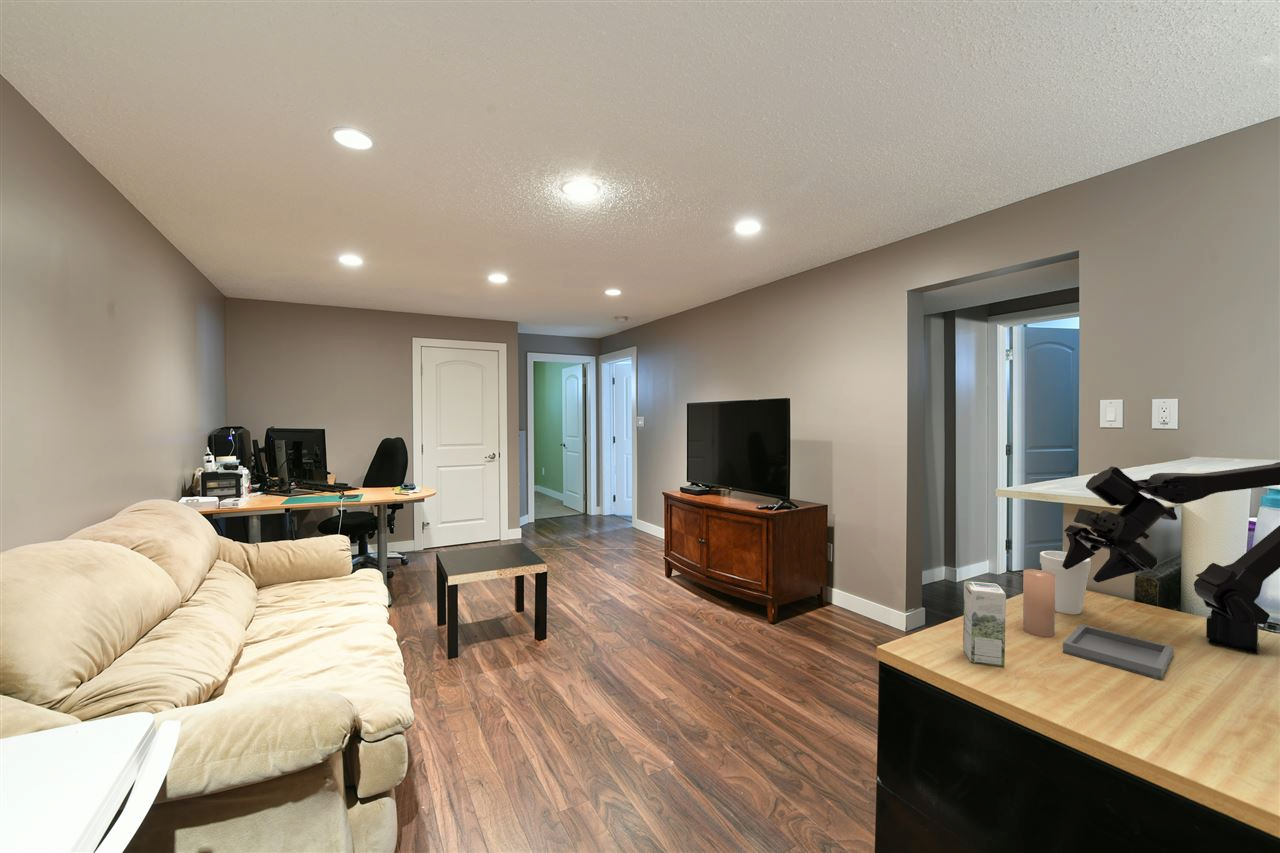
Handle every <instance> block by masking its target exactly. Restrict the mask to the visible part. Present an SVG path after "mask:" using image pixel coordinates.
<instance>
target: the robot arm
mask: <svg viewBox="0 0 1280 853" xmlns="http://www.w3.org/2000/svg"><path fill="white" fill-rule="evenodd" d="M1272 486H1273V487H1274V486H1280V461H1277V462H1274V463H1271V464H1263V465H1256V466H1248V467H1239V468H1234V469H1226V470H1219V471H1212V472H1204V473H1201V472H1200V473H1198V472H1197V473H1194V472H1193V473H1192V472H1191V473H1190V472H1157V473H1154V474H1152V475H1150V476H1149V478H1145V479H1137V480H1134V479H1132V478H1131V477H1130V476H1128V475H1127V474H1125V472H1123V471H1122V470H1121V469H1119V468H1118V467H1117V466H1110V467H1108V468H1107V469H1105V470H1102V471H1101V472H1099V473H1097V474H1094V475H1093V476H1092V477H1090V478H1089V479H1088V481H1087V482H1086V484H1085V488H1086V489H1087V490H1089V491H1090V492H1092V494H1094V495H1095V496H1096V497H1097V498H1099V499H1101V500H1102V501H1104V502H1105V503H1107V504H1108V505H1110V506H1111V507H1115V506H1118V507H1121V508H1120V509H1119V510H1118V511H1117V512H1116V513H1114V512H1110V511H1107V510H1102V511H1101V512H1100V513H1099V512H1097V511H1092V510H1089V509H1084V508H1080V507H1079V508H1078V510H1077V512H1076V515H1075V517H1074V519H1073V522H1074V523H1075V524H1069V525H1068V526H1067V527H1066V528H1064V530H1063V532H1064V534H1065V536H1066V538H1067V539H1068V542H1069V546H1068V550H1067V551H1066V552H1067V555H1066V557H1065V560H1064V562H1063V565H1062V567H1063V568H1065V569H1066V570H1067V569H1069V568H1072V567H1074V566H1075V565H1077V564H1079V563H1081V562H1083V561H1084V560H1086V559H1088V558H1089V559H1091V558H1092V557H1093V556H1095V555H1096V553H1095V552H1098V551H1100V549H1102V548H1103V549H1105V550H1108V551H1109V557H1108V559H1107V560H1106V561H1105V562H1104V564H1103V565H1102V566H1101V567H1100V568H1099V570H1098V571H1097V572H1096V573H1095V575H1094V576H1093V578H1092V580H1093V581H1094V582H1096V583H1102V582H1104V581H1105V582H1106V581H1109V580H1111V579H1116V578H1118V577H1121V576H1125V575H1129V574H1130V575H1131V574H1133V573H1137V572H1141V573H1143V572H1145V570H1147V571H1150V572H1152V571H1153V570H1154V569H1155V568H1156V567H1157V566H1158V565H1159V558H1158V557H1157V556H1155V554H1154V553H1152V552H1151V551H1150V550H1149V549H1148V548H1146V547H1145V546H1144V545H1143V544H1142V543H1140V542H1138V541H1139V540H1140V539H1142V540H1146V541H1147V539H1149V538H1150V535H1149V534H1147V532H1148V531H1149V530H1150V529H1151V528H1152V527H1153V526H1154V525H1155V524H1156V523H1157V522H1158V521H1159V520H1160V519H1162V520H1168V521H1177V520H1178V516H1177V513H1176V511H1175V507H1174V506H1166V505H1164V504H1163V503H1161V502H1160V501H1159V500H1161V501H1165V502H1168V503H1172V504H1176V505H1177V504H1179V505H1182V504H1187V503H1191V502H1194V501H1198V500H1202V499H1204V498H1206V497H1208V496H1210V495H1214V494H1217V493H1224V492H1225V493H1226V492H1233V491H1240V490H1241V491H1243V490H1249V489H1259V488H1265V487H1266V488H1267V487H1272ZM1144 494H1146V495H1150V496H1151V497H1147V496H1145V495H1144ZM1078 524H1082V525H1085V526H1087V527H1090V528H1089V529H1088V528H1087V527H1085V526H1082V525H1078ZM1279 569H1280V525H1278V526H1277V527H1275V529H1273V530H1272V531H1271V532H1269V533H1268V534H1267V535H1266V536H1265V537H1263V538H1262V539H1261V540H1260V541H1258V543H1256V544H1255V545H1254V546H1252V547H1251V548H1250V549H1249V550H1248V551H1246V552H1245V553H1244V554H1242V556H1240V557H1239V558H1238V559H1237V560H1235V561H1234V562H1232V563H1231V564H1230V563H1229V564H1227V565H1223V566H1222V565H1220V564H1218V563H1215V562H1212V563H1210V564H1209V565H1208V566H1207V567H1206V568H1205V569H1204V570H1203V571H1202V572H1200V573H1197V574H1195V577H1197V578H1196V580H1195V581H1194V582H1193V587H1194V592H1195V593H1196V596H1198V597H1199V598H1200V599H1201V600H1202V601H1203V604H1204V606H1205V607H1207V608H1209V609H1211V611H1210V615H1207V617H1206V627H1205V628H1206V630H1205V631H1206V632H1205V633H1206V635H1205V637H1206V638H1207V639H1208V644H1210V645H1212V646H1213V645H1214V646H1218V647H1222V648H1227V649H1230V650H1235V651H1240V652H1243V653H1247V654H1248V653H1249V654H1252V655H1259V649H1260V643H1259V625H1266V624H1267V622H1268V620H1269V618H1270V617H1271V615H1270V613H1268V612H1267V611H1266V610H1264V609H1263V608H1262V607H1261V606H1259V604H1257V603H1256V600H1257V599H1258V598H1259V597H1260V596H1261V591H1262V587H1263V584H1264V582H1265V580H1266V579H1268V578H1269V577H1270V576H1271V575H1273V574H1274V573H1275V572H1277V571H1278V570H1279Z"/></svg>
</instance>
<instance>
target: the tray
mask: <svg viewBox="0 0 1280 853" xmlns="http://www.w3.org/2000/svg"><path fill="white" fill-rule="evenodd" d="M1062 653H1063V654H1067V655H1071V656H1074V657H1076V658H1077V657H1078V658H1082V659H1085V660H1089V661H1092V662H1095V663H1098V664H1103V665H1106V666H1110V667H1114V668H1117V669H1120V670H1124V671H1128V672H1129V673H1130V672H1132V673H1133V674H1138V675H1142V676H1143V677H1144V676H1146V677H1149V678H1152V679H1156V680H1159V681H1162V680H1163V678H1164V676H1165V674H1166V672H1167V670H1168V669H1169V666H1170V664H1171V661H1172V660H1173V657H1174V645H1173V646H1172V645H1168V644H1165V643H1161V642H1156V641H1152V640H1149V639H1143V638H1140V637H1136V636H1131V635H1127V634H1123V633H1119V632H1115V631H1111V630H1106V629H1104V628H1099V627H1095V626H1092V625H1086V624H1082V623H1080V624H1079V626H1077V627H1076V629H1075V630H1074V631H1072V633H1071V634H1070V635H1069V636H1067V638H1066V639H1065V640H1064V641H1063V642H1062Z"/></svg>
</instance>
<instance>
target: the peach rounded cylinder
mask: <svg viewBox="0 0 1280 853" xmlns="http://www.w3.org/2000/svg"><path fill="white" fill-rule="evenodd" d="M1022 574H1023V578H1022V580H1023V581H1022V583H1023V585H1022V586H1023V588H1022V592H1023V593H1022V594H1023V595H1022V631H1024V632H1026V633H1027V634H1030V635H1032V636H1037V637H1040V638H1052V637H1053V638H1054V637H1055V634H1056V632H1055V629H1056V628H1055V627H1056V626H1055V625H1056V611H1055V574H1053V573H1051V572H1048V571H1044V570H1042V569H1035V568H1026V569H1023V573H1022Z"/></svg>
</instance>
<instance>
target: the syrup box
mask: <svg viewBox="0 0 1280 853" xmlns="http://www.w3.org/2000/svg"><path fill="white" fill-rule="evenodd" d="M1006 610H1007V594H1006V593H1005V591H1004V590H1003V589H1002V587H1001V586H999V585H998V584H997V583H991V582H990V583H989V582H982V581H981V582H980V581H979V582H978V581H969V580H965V581H963V631H962V632H963V633H962V634H963V635H962V636H963V637H962V641H963V642H962V643H963V644H962V649H963V651H964V653H965V655H966V656H967V659H969V661H970V663H972V664H973V663H974V664H981V665H986V666H988V665H989V666H996V667H1005V665H1006V663H1005V662H1006V657H1005V655H1006V617H1007V615H1006V614H1007V612H1006Z"/></svg>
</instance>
